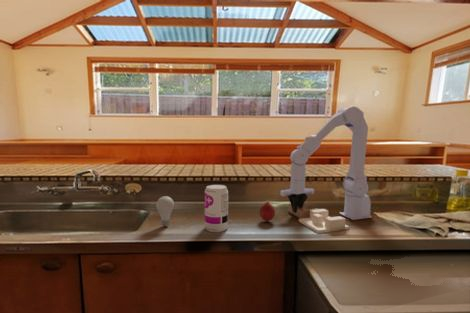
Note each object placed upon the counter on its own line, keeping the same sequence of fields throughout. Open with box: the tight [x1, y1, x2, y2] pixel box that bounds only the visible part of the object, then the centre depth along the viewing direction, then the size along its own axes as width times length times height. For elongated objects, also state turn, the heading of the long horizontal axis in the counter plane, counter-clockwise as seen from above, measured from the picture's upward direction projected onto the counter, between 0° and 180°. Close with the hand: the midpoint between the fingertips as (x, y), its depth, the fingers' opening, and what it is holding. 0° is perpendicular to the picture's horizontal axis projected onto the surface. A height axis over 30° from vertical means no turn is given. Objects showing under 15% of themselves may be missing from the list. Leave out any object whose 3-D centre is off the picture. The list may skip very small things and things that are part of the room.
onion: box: [258, 200, 276, 223], centre depth 97 cm, size 6×6×8 cm
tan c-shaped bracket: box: [288, 201, 319, 219], centre depth 106 cm, size 8×10×4 cm
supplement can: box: [204, 184, 229, 233], centre depth 90 cm, size 8×8×15 cm
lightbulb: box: [155, 195, 175, 227], centre depth 91 cm, size 6×6×11 cm
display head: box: [298, 208, 350, 234], centre depth 94 cm, size 13×12×4 cm
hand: (296, 211), depth 105 cm, fingers closed on tan c-shaped bracket, 2 cm apart
